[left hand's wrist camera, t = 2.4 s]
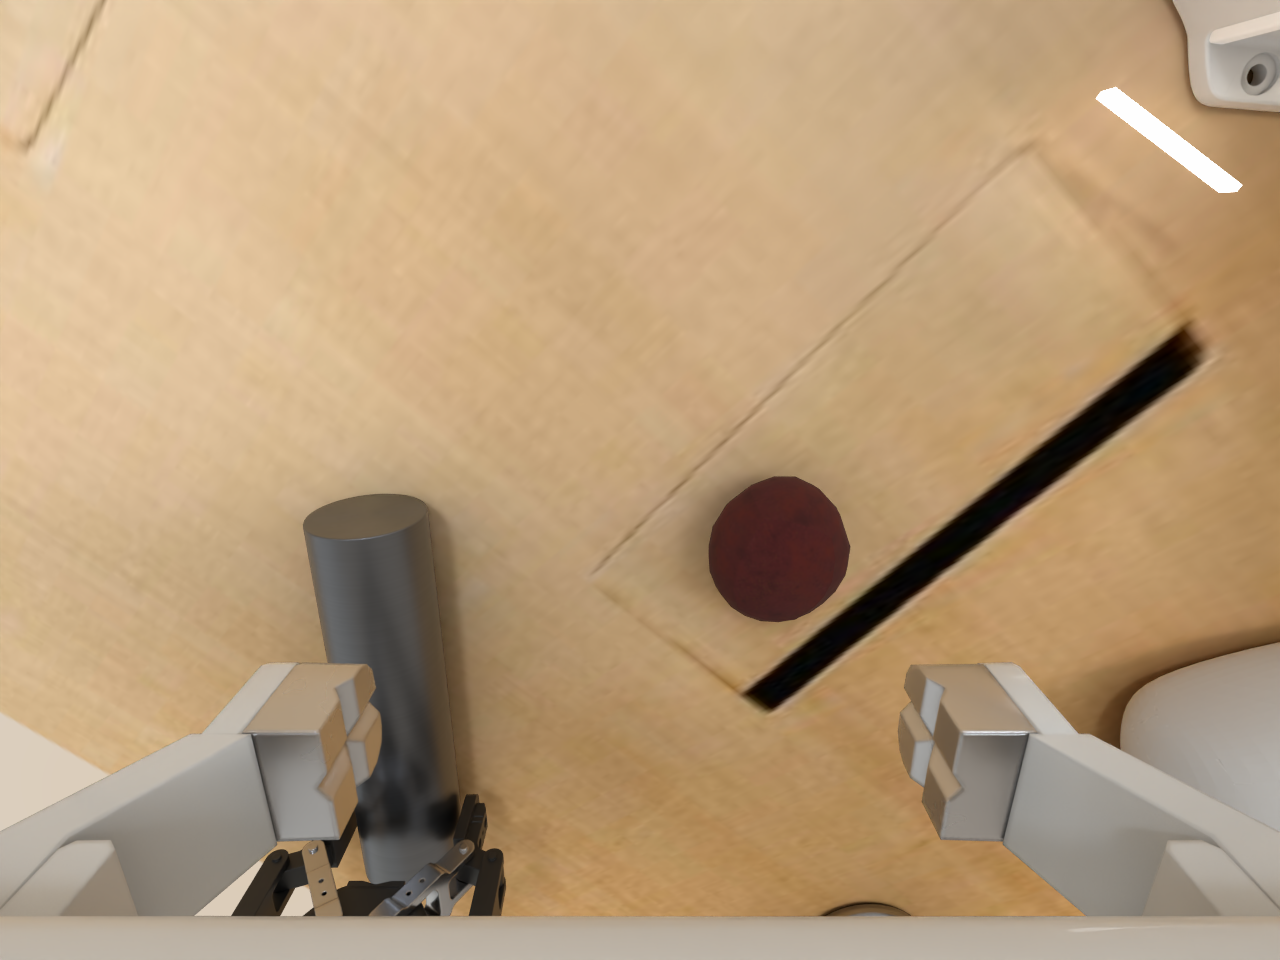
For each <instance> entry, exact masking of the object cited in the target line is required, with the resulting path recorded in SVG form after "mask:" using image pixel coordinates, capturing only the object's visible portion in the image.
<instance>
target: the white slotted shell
mask: <svg viewBox="0 0 1280 960" xmlns="http://www.w3.org/2000/svg"><path fill="white" fill-rule="evenodd" d="M1120 747H1121V750H1122V751H1124V752H1126V753H1128V754H1130V755H1132V756H1134V757H1135V758H1137V759H1139V760H1141V761H1143V762H1145V763H1147V764H1149V765H1151V766H1153V767H1155V768H1157V769H1159V770H1161V771H1163V772H1165V773H1167V774H1169V775H1171V776H1172V777H1174V778H1176V779H1178V780H1180V781H1182V782H1184V783H1186V784H1188V785H1190V786H1192V787H1194V788H1196V789H1198V790H1200V791H1202V792H1204V793H1206V794H1207V795H1209V796H1211V797H1213V798H1215V799H1217V800H1219V801H1221V802H1223V803H1225V804H1227V805H1229V806H1231V807H1233V808H1235V809H1237V810H1239V811H1241V812H1242V813H1244V814H1246V815H1248V816H1250V817H1252V818H1254V819H1256V820H1258V821H1260V822H1262V823H1264V824H1266V825H1268V826H1270V827H1272V828H1274V829H1276V830H1277V831H1279V832H1280V642H1278V643H1274V644H1269V645H1265V646H1260V647H1255V648H1251V649H1247V650H1243V651H1239V652H1235V653H1231V654H1227V655H1223V656H1220V657H1216V658H1213V659H1209V660H1206V661H1202V662H1199V663H1196V664H1193V665H1190V666H1187V667H1184V668H1181V669H1178V670H1175V671H1173V672H1170V673H1168V674H1165V675H1163V676H1160V677H1158V678H1157V679H1155V680H1153V681H1151V682H1149V683H1147V684H1146V685H1144V686H1143V687H1142V688H1140V689H1139V690H1138V691H1137V692H1136V693H1135V694H1134V695H1133V696H1132V698H1131V699H1130V701H1129V702H1128V704H1127V706H1126V709H1125V711H1124V714H1123V719H1122V723H1121V733H1120Z"/></svg>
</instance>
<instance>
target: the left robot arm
mask: <svg viewBox="0 0 1280 960" xmlns="http://www.w3.org/2000/svg"><path fill="white" fill-rule="evenodd" d="M1172 1H1173V3H1174V5H1175V7H1176V9H1177V11H1178V13H1179V15H1180V17H1181V19H1182V22H1183V24H1184V27H1185V30H1186V33H1187V38H1188V67H1189V78H1190V84H1191V88H1192V91H1193V94H1194V96H1195V98H1196V99H1197V100H1198V101H1199V102H1200V103H1201V104H1203V105H1206V106H1210V107H1220V108H1232V109H1245V110H1257V111H1269V112H1280V0H1172ZM1250 69H1251V70H1252V71H1253V79H1252V82H1251V83H1250V84H1249V83H1248V82H1247V74H1248V72H1249V70H1250ZM1096 99H1097V100H1099V101H1100V102H1101V103H1102V104H1104V105H1105V106H1106V107H1108V108H1109V109H1110V110H1112V111H1113V112H1114V113H1116V114H1117V115H1118V116H1119V117H1121V118H1122V119H1123V120H1125V121H1126V122H1127V123H1129V124H1130V125H1131V126H1133V127H1134V128H1135V129H1137V130H1138V131H1139V132H1140V133H1142V134H1143V135H1144V136H1146V137H1147V138H1148V139H1150V140H1151V141H1152V142H1154V143H1155V144H1156V145H1157V146H1159V147H1160V148H1161V149H1163V150H1164V151H1165V152H1167V153H1168V154H1169V155H1171V156H1172V157H1173V158H1175V159H1176V160H1177V161H1178V162H1180V163H1181V164H1182V165H1184V166H1185V167H1186V168H1188V169H1189V170H1190V171H1192V172H1193V173H1194V174H1195V175H1197V176H1198V177H1199V178H1201V179H1202V180H1203V181H1205V182H1206V183H1207V184H1209V185H1210V186H1211V187H1213V188H1214V189H1215V190H1216V191H1218V192H1219V193H1221V192H1237V191H1238V190H1239V188H1240V187H1241V186H1242V184H1240V183H1239V182H1238V181H1236V180H1235V179H1234V178H1232V177H1231V176H1230V175H1229V174H1227V173H1226V172H1225V171H1223V170H1222V169H1221V168H1220V167H1218V166H1217V165H1216V164H1214V163H1213V162H1212V161H1210V160H1209V159H1208V158H1207V157H1205V156H1204V155H1203V154H1201V153H1200V152H1199V151H1198V150H1196V149H1195V148H1194V147H1192V146H1191V145H1190V144H1188V143H1187V142H1186V141H1185V140H1183V139H1182V138H1181V137H1179V136H1178V135H1177V134H1176V133H1174V132H1173V131H1172V130H1170V129H1169V128H1168V127H1166V126H1165V125H1164V124H1163V123H1161V122H1160V121H1159V120H1157V119H1156V118H1155V117H1154V116H1152V115H1151V114H1150V113H1148V112H1147V111H1146V110H1144V109H1143V108H1142V107H1141V106H1139V105H1138V104H1137V103H1135V102H1134V101H1133V100H1131V99H1130V98H1129V97H1128V96H1126V95H1125V94H1124V93H1122V92H1121V91H1120V90H1119V89H1117V88H1116V87H1115V88H1112V89H1108V90H1105V91H1102V92H1100V94H1099V95H1098V97H1097V98H1096ZM375 689H376V685H375V680H374V675H373V670H372V669H371V668H370V667H369V666H368V665H367V664H341V663H267V664H264V665H261V666H260V667H259V668H258V670H257V671H256V672H255V673H254V674H253V675H252V676H251V678H250V679H249V680H248V681H247V682H246V683H245V684H244V686H243V687H242V688H241V689H240V690H239V691H238V692H237V694H236V695H235V696H234V697H233V698H232V699H231V700H230V702H229V703H228V704H227V705H226V706H225V707H224V708H223V710H222V711H221V712H220V713H219V714H218V715H217V716H216V718H215V719H214V720H213V721H212V722H211V723H210V724H209V726H208V727H207V728H206V729H205V730H204V731H203V733H202V734H189V735H187V736H185V737H183V738H181V739H180V740H178V741H176V742H174V743H172V744H170V745H168V746H166V747H164V748H162V749H160V750H158V751H156V752H154V753H152V754H150V755H148V756H146V757H144V758H142V759H140V760H139V761H137V762H135V763H133V764H131V765H129V766H127V767H125V768H123V769H121V770H119V771H117V772H115V773H113V774H111V775H109V776H107V777H105V778H103V779H101V780H100V781H98V782H96V783H94V784H92V785H90V786H88V787H86V788H84V789H82V790H80V791H78V792H76V793H74V794H72V795H70V796H68V797H66V798H64V799H63V800H61V801H59V802H57V803H55V804H53V805H51V806H49V807H47V808H45V809H43V810H41V811H39V812H37V813H35V814H33V815H31V816H29V817H27V818H25V819H24V820H21V821H20V822H18V823H16V824H14V825H12V826H10V827H8V828H6V829H4V830H2V831H0V960H1280V832H1279V831H1277V830H1276V829H1274V828H1272V827H1270V826H1268V825H1266V824H1264V823H1262V822H1260V821H1258V820H1256V819H1254V818H1252V817H1250V816H1248V815H1246V814H1244V813H1242V812H1241V811H1239V810H1237V809H1235V808H1233V807H1231V806H1229V805H1227V804H1225V803H1223V802H1221V801H1219V800H1217V799H1215V798H1213V797H1211V796H1209V795H1207V794H1206V793H1204V792H1202V791H1200V790H1198V789H1196V788H1194V787H1192V786H1190V785H1188V784H1186V783H1184V782H1182V781H1180V780H1178V779H1176V778H1174V777H1172V776H1171V775H1169V774H1167V773H1165V772H1163V771H1161V770H1159V769H1157V768H1155V767H1153V766H1151V765H1149V764H1147V763H1145V762H1143V761H1141V760H1139V759H1137V758H1135V757H1134V756H1132V755H1130V754H1128V753H1126V752H1124V751H1122V750H1120V749H1118V748H1116V747H1114V746H1112V745H1110V744H1108V743H1106V742H1104V741H1102V740H1100V739H1099V738H1097V737H1095V736H1093V735H1091V734H1078V733H1077V731H1076V730H1075V729H1074V728H1073V727H1072V726H1071V725H1070V723H1069V722H1068V721H1067V720H1066V719H1065V718H1064V717H1063V715H1062V714H1061V713H1060V712H1059V711H1058V710H1057V708H1056V707H1055V706H1054V705H1053V704H1052V703H1051V702H1050V700H1049V699H1048V698H1047V697H1046V696H1045V695H1044V694H1043V692H1042V691H1041V690H1040V689H1039V688H1038V687H1037V686H1036V684H1035V683H1034V682H1033V681H1032V680H1031V679H1030V678H1029V676H1028V675H1027V674H1026V673H1025V672H1024V671H1023V670H1022V668H1021V667H1020V666H1018V665H1016V664H1014V663H1012V662H999V663H978V664H940V665H911V666H910V668H909V670H908V672H907V674H906V679H905V685H904V689H905V691H906V692H907V694H908V696H909V698H910V699H911V702H910V703H909V704H908V705H907V706H906V707H905V708H904V709H903V710H902V711H901V712H900V718H899V726H898V738H899V749H900V753H901V757H902V760H903V764H904V766H905V768H906V770H907V772H908V774H909V777H910V778H911V779H913V780H914V781H916V782H917V783H918V784H920V785H921V786H922V787H924V791H923V797H922V803H923V805H924V807H925V809H926V811H927V813H928V815H929V817H930V819H931V821H932V823H933V825H934V827H935V829H936V831H937V833H938V835H939V837H940V839H941V840H970V841H1003V845H1004V846H1005V847H1006V848H1007V849H1009V850H1010V851H1011V852H1012V853H1013V854H1014V855H1016V856H1017V857H1018V858H1019V859H1020V860H1022V861H1023V862H1024V863H1025V864H1026V865H1027V866H1029V867H1030V868H1031V869H1032V870H1033V871H1034V872H1036V873H1037V874H1038V875H1039V876H1040V877H1041V878H1043V879H1044V880H1045V881H1046V882H1047V883H1048V884H1050V885H1051V886H1052V887H1053V888H1054V889H1055V890H1057V891H1058V892H1059V893H1060V894H1061V895H1062V896H1064V897H1065V898H1066V899H1067V900H1068V901H1070V902H1071V903H1072V904H1073V905H1074V906H1075V907H1077V908H1078V909H1079V910H1080V911H1081V912H1082V913H1084V914H1085V915H1086V916H194V915H195V914H197V913H198V912H199V911H200V910H201V909H202V908H204V907H205V906H206V905H207V904H208V903H210V902H211V901H212V900H213V899H214V898H215V897H217V896H218V895H219V894H220V893H221V892H222V891H224V890H225V889H226V888H227V887H228V886H229V885H231V884H232V883H233V882H234V881H235V880H236V879H238V878H239V877H240V876H241V875H242V874H244V873H245V872H246V871H247V870H248V869H249V868H251V867H252V866H253V865H254V864H255V863H256V862H258V861H259V860H260V859H261V858H262V857H263V856H265V855H266V854H267V853H268V852H269V851H271V850H272V849H273V848H274V847H275V846H276V845H277V841H309V840H339V839H340V837H341V835H342V833H343V831H344V829H345V827H346V825H347V823H348V821H349V819H350V817H351V815H352V813H353V811H354V809H355V807H356V805H357V803H358V797H357V791H356V787H358V786H359V785H360V784H362V783H363V782H364V781H366V780H367V779H369V778H370V777H371V774H372V772H373V770H374V768H375V766H376V764H377V761H378V756H379V752H380V747H381V743H382V724H381V717H380V712H379V711H378V710H377V709H376V708H375V707H374V706H373V705H372V704H371V703H370V702H369V699H370V698H371V696H372V694H373V692H374V691H375Z"/></svg>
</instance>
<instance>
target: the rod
mask: <svg viewBox="0 0 1280 960" xmlns="http://www.w3.org/2000/svg"><path fill="white" fill-rule="evenodd" d="M303 529H304V535H305V540H306V546H307V551H308V557H309V562H310V568H311V573H312V579H313V584H314V590H315V595H316V601H317V606H318V612H319V617H320V623H321V628H322V634H323V639H324V645H325V650H326V656H327V661H328V663H341V664H367V665H368V666H369V667H370V668H371V669H372V670H373V675H374V680H375V685H376V689H375V691H374V692H373V694H372V696H371V698H370V699H369V702H370V703H371V704H372V705H373V706H374V707H375V708H376V709H377V710H378V711H379V712H380V717H381V724H382V743H381V747H380V752H379V756H378V761H377V764H376V766H375V768H374V770H373V772H372V774H371V777H370V778H369V779H367V780H366V781H364V782H363V783H362V784H360V785H359V786H358V787H356V791H357V797H358V803H357V805H356V807H355V809H354V810H355V815H356V821H357V826H358V832H359V837H360V843H361V848H362V854H363V859H364V865H365V870H366V874H367V877H368V879H369V881H370V882H371V883H372V884H380V883H384V882H389V881H405V884H406V883H407V882H408V881H409V880H410V879H411V878H412V877H414V876H415V875H416V874H417V873H418V872H419V871H420V870H421V869H422V868H423V867H424V866H425V865H426V864H428V863H433V864H435V863H436V862H438V861H439V860H440V859H441V858H442V857H443V856H444V855H445V854H446V853H447V852H448V851H449V850H450V849H451V848H452V847H453V846H454V845H453V837H454V834H455V830H456V827H457V824H458V820H459V817H460V814H461V801H460V793H459V784H458V775H457V766H456V757H455V748H454V739H453V730H452V722H451V713H450V704H449V695H448V686H447V677H446V668H445V659H444V651H443V642H442V633H441V624H440V615H439V606H438V597H437V588H436V580H435V571H434V562H433V553H432V544H431V535H430V526H429V517H428V509H427V506H426V504H425V503H424V502H423V501H421V500H419V499H417V498H414V497H410V496H406V495H397V494H374V495H364V496H358V497H353V498H348V499H344V500H340V501H337V502H334V503H331V504H328V505H326V506H323V507H321V508H319V509H317V510H315V511H314V512H312V513H311V514H310V515H309V516H308V517H307V518H306V519H305V520H304V523H303Z"/></svg>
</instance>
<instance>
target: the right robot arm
mask: <svg viewBox="0 0 1280 960" xmlns="http://www.w3.org/2000/svg"><path fill="white" fill-rule="evenodd" d="M356 827H357V821H356V815H355V810H354V811H353V813H352V815H351V817H350V819H349V821H348V823H347V825H346V827H345V829H344V831H343V833H342V835H341V837H340V839H339V840H312V841H311V842H309V843H308V844H306V845H305V846H304V848H303V849H302V850H301V851H298V852H294V853H291V854H288V852H287V851H286V850H283V849H281V850H276V851H274V852H272V853H271V854H270V855H268V857H267V858H266V860H265V861H264V863H263V865H262V866H261V868H260V870H259V871H258V873H257V874H256V876H255V878H254V880H253V881H252V883H251V884H250V886H249V888H248V889H247V891H246V892H245V894H244V896H243V897H242V899H241V901H240V902H239V904H238V906H237V907H236V909H235V911H234V912H233V914H232V915H231V916H280V915H281V913H282V912H283V910H284V908H285V906H286V904H287V902H288V900H289V898H290V897H291V895H292V893H293V891H294V889H295V888H296V887H300V886H303V885H307V884H309V888H310V893H311V897H312V902H313V906H314V908H312V909H311V910H310V911H308V912H307V913H306V914H305V915H304V916H450V914H451V912H452V909H453V906H454V905H455V904H456V903H457V902H458V900H459V899H460V898H461V897H462V896H463V895H464V894H465V893H466V892H467V891H468V890H469V889H470V888H471V887H472V886H473V885H474V886H476V887H475V891H474V895H473V900H472V904H471V909H470V913H469V916H501V912H502V907H503V901H504V896H505V890H506V881H505V877H504V868H503V864H504V858H503V853H502V851H501V850H499V849H495V848H494V849H490V850H488V851H483V850H482V846H483V842H484V838H485V834H486V830H487V816H486V808H485V804H484V803H479V796H478V794H467V795H466V797H465V800H464V804H463V807H462V810H461V814H460V817H459V820H458V824H457V827H456V830H455V834H454V837H453V845H454V846H453V847H452V848H451V849H450V850H449V851H448V852H447V853H446V854H445V855H444V856H443V857H442V858H441V859H440V860H439V861H438V862H436V863H435V864H433V863H428V864H426V865H425V866H424V867H423V868H422V869H421V870H420V871H419V872H418V873H417V874H416V875H415V876H414V877H412V878H411V879H410V880H409V881H408V882H407V883H406V884H405V881H389V882H384V883H380V884H372V883H369V882H365V881H349V882H348V885H347V886H345V887H342V888H340V889H338V890H337V889H336V886H335V882H334V878H333V874H332V870H331V868H338V866H339V864H340V861H341V859H342V857H343V855H344V853H345V851H346V849H347V846H348V844H349V842H350V840H351V838H352V836H353V834H354V831H355V829H356ZM425 898H426V905H425V908H424V907H423V905H422V903H421V902H422V901H423V900H424V899H425ZM827 916H910V915H909V914H907V913H906V912H904V911H902V910H900V909H897V908H894V907H890V906H886V905H879V904H862V905H855V906H850V907H846V908H842V909H840V910H837V911H835V912H832V913H830V914H828V915H827Z"/></svg>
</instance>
